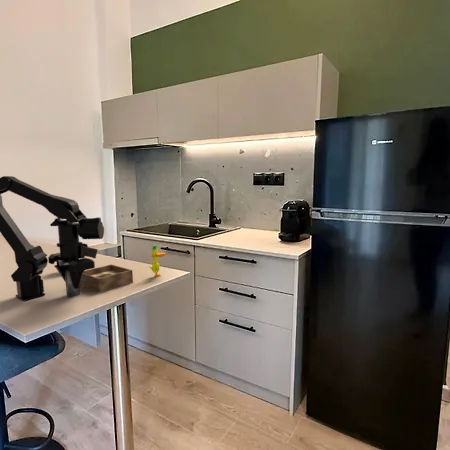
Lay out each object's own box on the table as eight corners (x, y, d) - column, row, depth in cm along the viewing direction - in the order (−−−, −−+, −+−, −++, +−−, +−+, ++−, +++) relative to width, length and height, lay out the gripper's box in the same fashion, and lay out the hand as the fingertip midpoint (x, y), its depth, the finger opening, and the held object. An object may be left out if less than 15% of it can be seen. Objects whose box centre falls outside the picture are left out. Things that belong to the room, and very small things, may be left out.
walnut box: (99, 292, 108) (98, 279, 108) (79, 284, 117) (78, 272, 116) (132, 282, 119) (132, 270, 118) (112, 275, 127) (111, 264, 126)
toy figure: (164, 273, 129) (163, 243, 127) (167, 275, 126) (166, 245, 124) (147, 276, 126) (146, 245, 124) (150, 278, 123) (149, 247, 121)
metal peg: (70, 297, 104) (68, 273, 102) (64, 295, 106) (62, 271, 105) (82, 294, 107) (80, 270, 106) (76, 291, 109) (74, 268, 108)
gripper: (108, 238, 104) (111, 286, 106) (78, 233, 116) (81, 276, 118) (74, 244, 96) (78, 296, 98) (45, 238, 107) (49, 284, 109)
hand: (72, 287), depth 106 cm, fingers closed on metal peg, 4 cm apart
